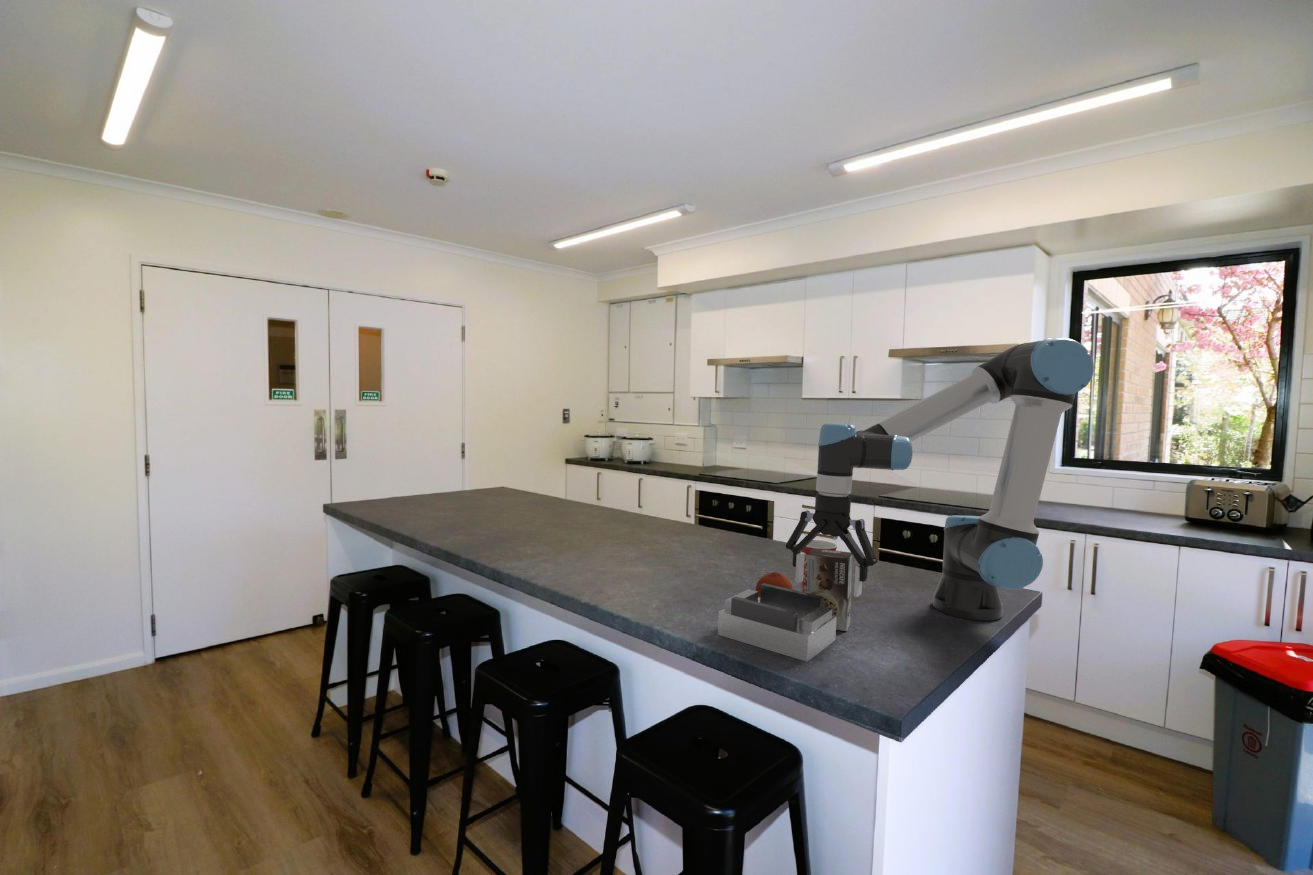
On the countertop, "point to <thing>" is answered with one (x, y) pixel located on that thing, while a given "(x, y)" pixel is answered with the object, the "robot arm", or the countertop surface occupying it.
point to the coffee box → (831, 582)
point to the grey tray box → (779, 621)
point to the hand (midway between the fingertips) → (827, 588)
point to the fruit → (773, 581)
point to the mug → (813, 544)
